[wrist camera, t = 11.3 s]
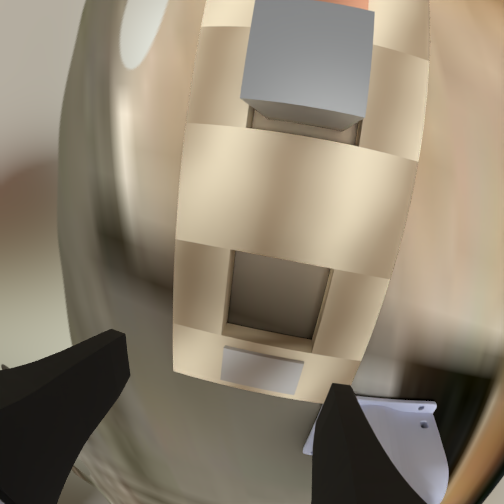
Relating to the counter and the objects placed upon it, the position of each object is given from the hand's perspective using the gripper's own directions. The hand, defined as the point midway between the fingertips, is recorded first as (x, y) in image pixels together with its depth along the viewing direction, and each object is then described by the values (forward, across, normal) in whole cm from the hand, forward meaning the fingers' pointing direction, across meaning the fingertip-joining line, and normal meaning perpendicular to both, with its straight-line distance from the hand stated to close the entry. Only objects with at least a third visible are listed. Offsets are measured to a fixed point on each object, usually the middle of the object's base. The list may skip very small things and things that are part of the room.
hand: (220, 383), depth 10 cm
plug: (+10, -1, -11) cm, 14 cm away
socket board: (+9, -1, -5) cm, 11 cm away
